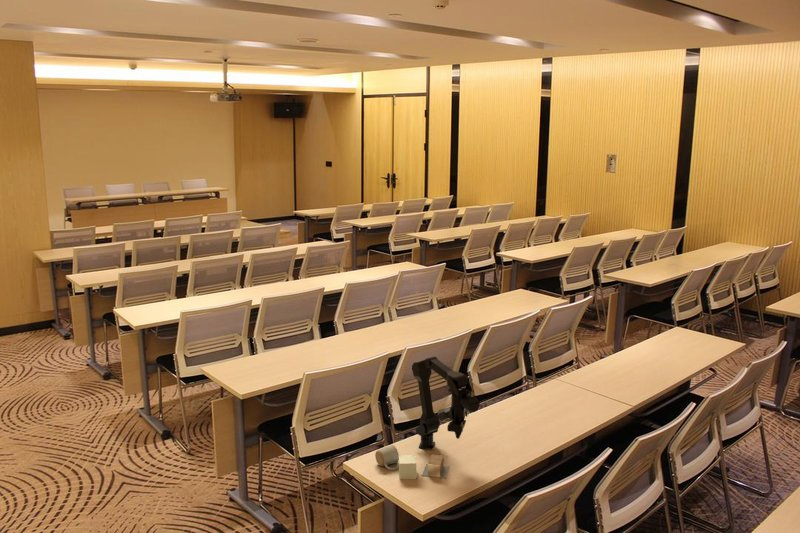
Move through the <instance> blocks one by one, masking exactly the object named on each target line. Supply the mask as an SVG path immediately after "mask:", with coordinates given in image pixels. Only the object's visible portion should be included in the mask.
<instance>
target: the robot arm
mask: <svg viewBox="0 0 800 533" xmlns="http://www.w3.org/2000/svg"><path fill="white" fill-rule="evenodd" d="M411 370H412V374H413V377H414V378H415V379H416V381H417V383H418V391H419V398H420V405H421V416H420V418H419V425H418V426H417V427H416V428H415V432H416V435H418V436H420V443H419V445H418V449H427V450H433V449H434V447H435V445H436V442H435V441H434V434H435V433H438V432H439V429H440V425H441V422H440V421H443V420H447V419H449V420H450V421H449V422H448V425H447V429H446V430H447V432H450V433H451V432H452V433H454V434H455V438H456V439H457V440H458V439H460V437H461V435H462V433H463V432H464V428H465V425H466V422H467V420H466V418H467V417H468V416H469V411H470V412H471V413H475V412H477V411H478V410H479V408H480V407H481V406H480V405H481V404H480V400H479V399H478V398H477V396H476V394H472V392H473V391H474V390H473V389H472V386H471V384H470V381H469V379H468V377H467V375H466V374H465V373H462V372H461V371H456V370H455V371H454V370H453V369H452V368H450V367H449V366H447V365H446V364H444V363H443V361H441V360H439V358H438V357H437V356H435V355H434V356H430V357H427V358H425V359H423V360H418V361H415V362H413V364H412V365H411ZM432 371H434V372H435V373H436V374H438V375H439V376H440V377H441V378H442V379H444V380H445V381H446V385H447V386H448V387H449V388H448V392H450V393H451V395H450V397H451V399H450V400H451V403H450V404H451V405H450V406H448V407H444V408H441V409H439V410H438V412H437V414H436V413H435V412H434V406H433V399H432V393H431V385H430V378H431V376H432V373H433V372H432Z"/></svg>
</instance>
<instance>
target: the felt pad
mask: <svg viewBox="0 0 800 533" xmlns="http://www.w3.org/2000/svg"><path fill="white" fill-rule="evenodd" d="M449 469H450V466H448V465H443V469H442V472H441V475H440V477H435V476H428V463H426V464H425V466H424V470H423V471H422V474H421V476H422V477H426V478H428V477H429V478H437V479H444V480H445V479H446V478H447V475H448V473H449Z"/></svg>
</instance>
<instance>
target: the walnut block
mask: <svg viewBox="0 0 800 533" xmlns="http://www.w3.org/2000/svg"><path fill="white" fill-rule="evenodd" d="M444 463H445V462H444V455H440V454H433V453H432V454H431V455H430V458H429V460H428V463H427V464H428V476H435V477H440V475H441V472H442V469H443V466H444ZM435 477H434V478H435Z"/></svg>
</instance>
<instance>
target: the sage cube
mask: <svg viewBox="0 0 800 533" xmlns="http://www.w3.org/2000/svg"><path fill="white" fill-rule="evenodd" d="M398 463H399V465H398V477H399V480H407V479H408V480H410V479H412V480H415V479H417V457H416V454H411V455H410V454H408V455H407V454H406V455H405V454H404V455H403V454H402V455H399V461H398Z"/></svg>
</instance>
